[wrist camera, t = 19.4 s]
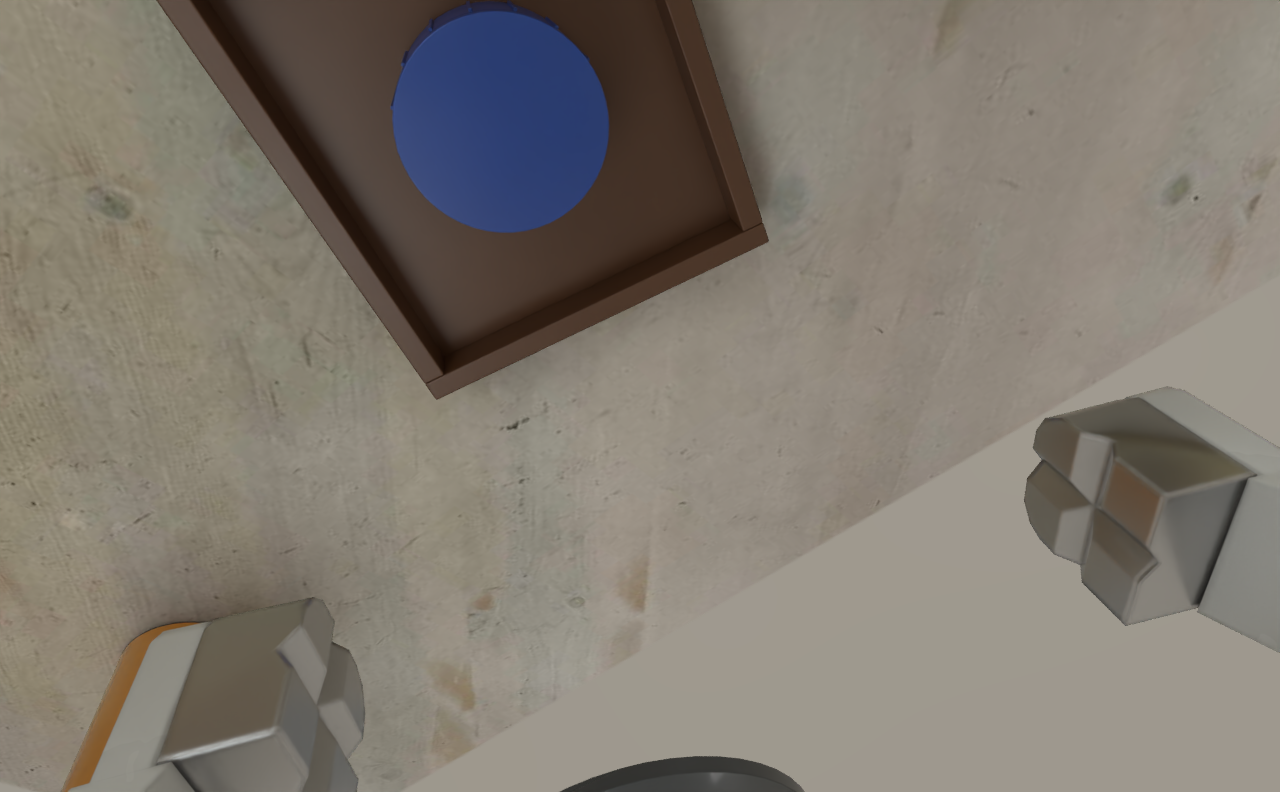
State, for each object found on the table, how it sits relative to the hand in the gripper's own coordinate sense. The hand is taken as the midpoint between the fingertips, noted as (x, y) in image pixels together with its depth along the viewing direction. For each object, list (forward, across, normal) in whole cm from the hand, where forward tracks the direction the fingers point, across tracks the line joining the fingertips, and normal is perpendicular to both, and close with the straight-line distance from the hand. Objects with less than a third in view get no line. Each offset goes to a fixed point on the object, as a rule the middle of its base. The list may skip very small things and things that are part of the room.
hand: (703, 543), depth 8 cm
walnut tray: (+21, +1, -1) cm, 21 cm away
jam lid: (+20, +1, -1) cm, 20 cm away
